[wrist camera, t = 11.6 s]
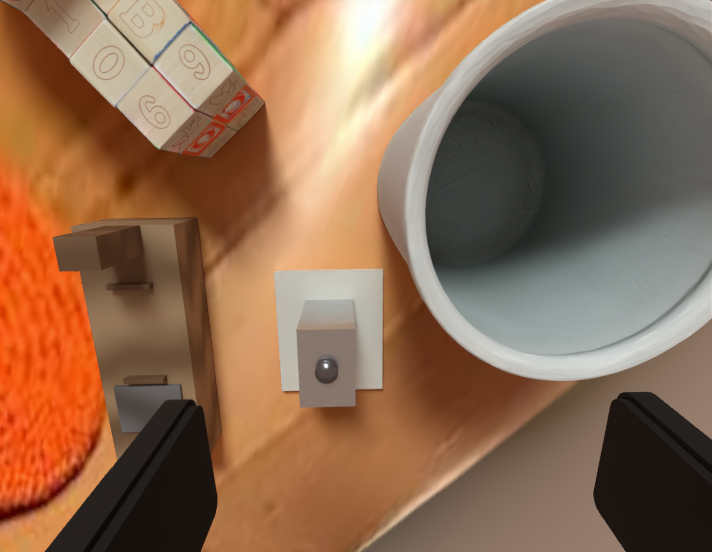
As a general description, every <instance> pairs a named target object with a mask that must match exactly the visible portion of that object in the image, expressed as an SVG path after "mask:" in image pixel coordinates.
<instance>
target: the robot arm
mask: <svg viewBox="0 0 712 552" xmlns="http://www.w3.org/2000/svg"><path fill="white" fill-rule="evenodd" d="M593 496H594V502H595V505H596V507H597V509H598V511H599V513H600V514H601V516H602V517H603V519H604V520H605V522H606V523H607V524H608V526H609V527H610V529H611V530H612V532H613V533H614V535H615V536H616V538H617V539H618V541H619V542H620V544H621V545H622V547H623V548H624V550H625V551H626V552H712V440H711V439H710V438H709V437H708V436H706V435H705V434H704V433H703V432H701V431H700V430H699V429H698V428H696V427H695V426H694V425H693V424H691V423H690V422H689V421H688V420H686V419H685V418H684V417H683V416H681V415H680V414H679V413H678V412H676V411H675V410H674V409H673V408H671V407H670V406H669V405H668V404H666V403H665V402H664V401H663V400H661V399H660V398H659V397H658V396H656V395H655V394H653V393H651V392H624V393H621V394H620V395H619V396H618V397H617V399H615V400H613V401H612V402H611V405H610V410H609V415H608V420H607V425H606V431H605V436H604V441H603V446H602V451H601V456H600V461H599V467H598V472H597V477H596V482H595V487H594V493H593ZM216 509H217V492H216V485H215V479H214V473H213V467H212V460H211V454H210V448H209V441H208V435H207V429H206V422H205V416H204V411H203V408H202V406H196V403H195V401H194V400H192V399H174V400H166V401H165V402H164V403H163V404H162V405H161V406H160V408H159V409H158V410H157V411H156V413H155V414H154V415H153V416H152V418H151V419H150V420H149V421H148V423H147V424H146V425H145V426H144V428H143V429H142V430H141V432H140V433H139V434H138V435H137V437H136V438H135V439H134V440H133V442H132V443H131V444H130V445H129V447H128V448H127V449H126V450H125V452H124V453H123V454H122V456H121V457H120V458H119V459H118V461H117V462H116V463H115V464H114V466H113V467H112V468H111V469H110V470H109V471H108V473H107V474H106V475H105V476H104V478H103V479H102V480H101V481H100V483H99V484H98V485H97V486H96V488H95V489H94V490H93V492H92V493H91V494H90V495H89V497H88V498H87V499H86V500H85V502H84V503H83V504H82V505H81V507H80V508H79V509H78V510H77V512H76V513H75V514H74V515H73V517H72V518H71V519H70V521H69V522H68V523H67V524H66V526H65V527H64V528H63V529H62V531H61V532H60V533H59V534H58V536H57V537H56V538H55V539H54V541H53V542H52V543H51V544H50V546H49V547H48V548H47V550H46V551H45V552H201V549H202V547H203V544H204V542H205V539H206V537H207V534H208V532H209V529H210V527H211V524H212V522H213V519H214V517H215V514H216Z"/></svg>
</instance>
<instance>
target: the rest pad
mask: <svg viewBox="0 0 712 552" xmlns="http://www.w3.org/2000/svg"><path fill="white" fill-rule="evenodd" d="M274 278H275V293H276V308H277V323H278V338H279V353H280V368H281V383H282V391H299V374H298V354H297V333H296V329H297V326H298V323H299V320H300V317H301V313H302V310H303V307H304V304H305V300H336V299H353V305H354V321H355V389H382V349H383V269H330V270H275V272H274Z"/></svg>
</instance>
